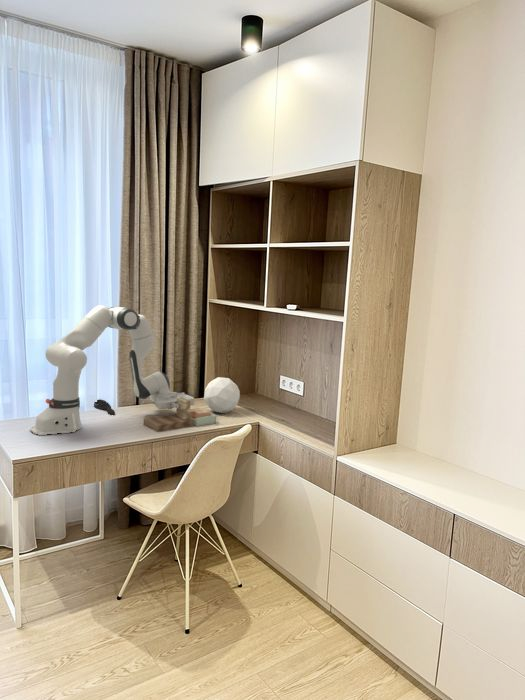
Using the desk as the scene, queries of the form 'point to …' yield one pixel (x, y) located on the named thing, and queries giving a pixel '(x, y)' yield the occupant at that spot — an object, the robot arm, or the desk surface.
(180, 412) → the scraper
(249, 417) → the desk surface
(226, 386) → the geometric polyhedron
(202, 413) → the pink building block
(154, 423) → the board
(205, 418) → the tray
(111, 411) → the hairbrush
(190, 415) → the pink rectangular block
